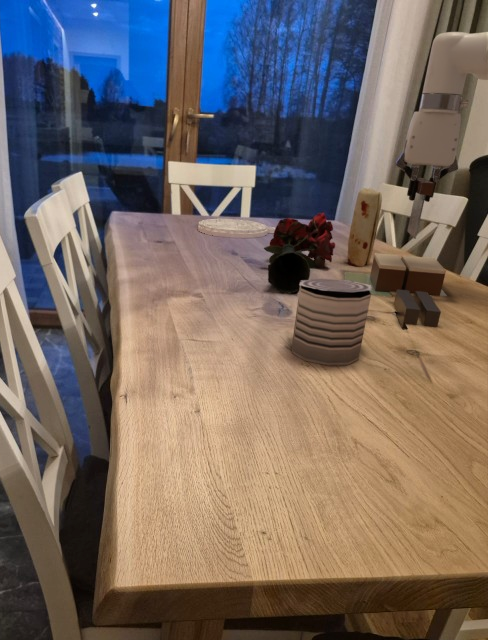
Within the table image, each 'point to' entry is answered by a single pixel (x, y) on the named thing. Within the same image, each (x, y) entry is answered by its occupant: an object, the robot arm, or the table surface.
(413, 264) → the cake
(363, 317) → the can
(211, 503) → the table surface
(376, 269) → the cake slice
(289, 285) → the rose vase
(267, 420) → the table surface
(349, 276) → the green flat square board
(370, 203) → the food model
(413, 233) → the knife
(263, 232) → the medallion
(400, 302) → the knife block
